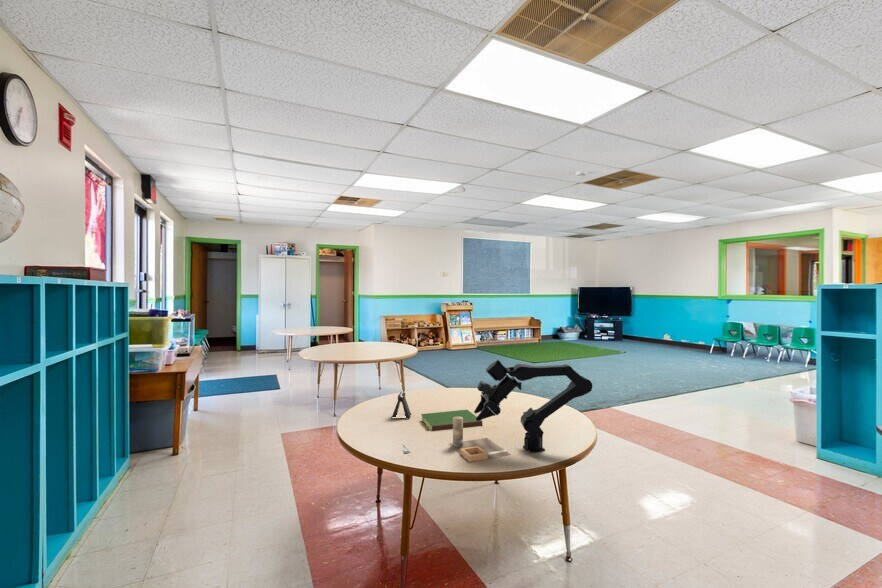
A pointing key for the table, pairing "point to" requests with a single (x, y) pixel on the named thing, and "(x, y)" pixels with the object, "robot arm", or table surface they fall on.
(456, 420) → the beige cylinder
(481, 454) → the socket
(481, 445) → the clear acrylic sheet
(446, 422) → the hardcover book
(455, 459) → the table surface
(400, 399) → the black a-frame stand
